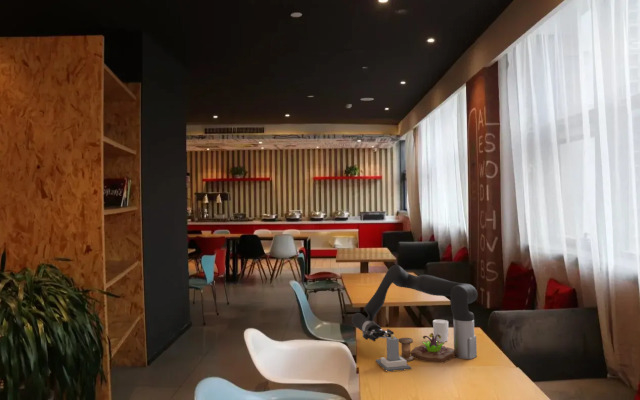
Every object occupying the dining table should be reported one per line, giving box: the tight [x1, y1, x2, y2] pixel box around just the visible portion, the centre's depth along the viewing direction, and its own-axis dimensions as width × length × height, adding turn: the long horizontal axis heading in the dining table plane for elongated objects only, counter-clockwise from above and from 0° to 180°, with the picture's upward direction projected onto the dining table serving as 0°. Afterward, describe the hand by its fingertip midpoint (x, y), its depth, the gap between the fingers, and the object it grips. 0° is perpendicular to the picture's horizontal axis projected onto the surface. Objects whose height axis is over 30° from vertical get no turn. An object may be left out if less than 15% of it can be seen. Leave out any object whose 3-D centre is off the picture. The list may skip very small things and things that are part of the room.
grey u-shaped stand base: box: [375, 355, 412, 372], centre depth 210 cm, size 14×11×3 cm
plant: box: [410, 332, 456, 364], centre depth 224 cm, size 20×20×11 cm
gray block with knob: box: [386, 334, 400, 361], centre depth 210 cm, size 4×4×13 cm
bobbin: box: [398, 337, 414, 362], centre depth 220 cm, size 10×6×9 cm, turn 43°
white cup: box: [432, 319, 449, 343], centre depth 248 cm, size 8×8×10 cm
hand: (383, 338), depth 221 cm, fingers open, 8 cm apart
